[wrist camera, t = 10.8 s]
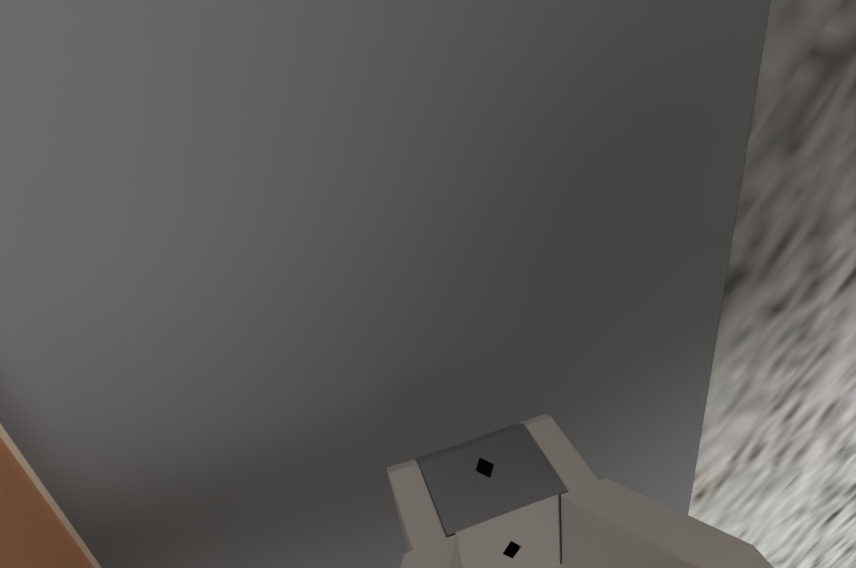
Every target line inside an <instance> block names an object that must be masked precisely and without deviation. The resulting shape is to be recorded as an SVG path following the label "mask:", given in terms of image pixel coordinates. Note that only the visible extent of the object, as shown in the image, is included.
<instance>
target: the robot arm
mask: <svg viewBox="0 0 856 568" xmlns="http://www.w3.org/2000/svg"><path fill="white" fill-rule="evenodd" d="M387 473H388V477H389V481H390V485H391V489H392V493H393V497H394V501H395V505H396V509H397V512H398V516H399V520H400V524H401V527H402V531H403V535H404V538H405V542H406V545H407V548H408V551H409V552H407V553H405V554H404V556H403V559H402V563H401V566H400V568H557V567H560V566H562V568H773V567H772V566H771V564H770V563H769V562H768V561H767V560H766V559H765V558H764V557H763V556H762V555H761V554H760V553H759V551H758V550H757V549H756V548H755V547H754V546H753V545H751V544H749V543H747V542H745V541H742V540H740V539H738V538H736V537H734V536H732V535H729V534H727V533H725V532H723V531H721V530H719V529H717V528H714V527H712V526H710V525H708V524H706V523H704V522H701V521H699V520H697V519H695V518H693V517H691V516H688V515H686V514H684V513H682V512H680V511H678V510H676V509H673V508H671V507H669V506H667V505H665V504H663V503H660V502H658V501H656V500H654V499H652V498H650V497H647V496H645V495H643V494H641V493H639V492H637V491H635V490H632V489H630V488H628V487H626V486H624V485H622V484H619V483H617V482H615V481H613V480H611V479H609V478H604V479H601V480H598V478H597V477H596V476H595V474H594V473H593V472H592V470H591V469H590V468H589V466H588V465H587V464H586V462H585V461H584V460H583V458H582V457H581V456H580V454H579V453H578V452H577V450H576V449H575V448H574V446H573V445H572V444H571V442H570V441H569V440H568V438H567V437H566V436H565V434H564V433H563V432H562V430H561V429H560V428H559V426H558V425H557V424H556V422H555V421H554V419H553V418H552V417H551V416H550V415H548V414H543V415H540V416H537V417H534V418H531V419H528V420H525V421H523V422H520V423H516V424H513V425H510V426H507V427H505V428H502V429H499V430H496V431H493V432H491V433H488V434H485V435H482V436H479V437H477V438H474V439H471V440H468V442H465V443H461V444H458V445H455V446H452V447H449V448H445V449H442V450H439V451H436V452H433V453H430V454H426V455H423V456H420V457H417V458H416V459H412V460H409V461H406V462H402V463H399V464H396V465H393V466H390V467H387Z"/></svg>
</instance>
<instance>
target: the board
mask: <svg viewBox="0 0 856 568" xmlns="http://www.w3.org/2000/svg"><path fill="white" fill-rule="evenodd" d="M769 7H770V0H0V437H1V438H2V440H3V441H4V443H5V444H6V445H7V447H8V448H9V450H10V451H11V452H12V454H13V455H14V456H15V458H16V459H17V461H18V462H19V463H20V465H21V466H22V468H23V469H24V470H25V472H26V473H27V475H28V476H29V477H30V479H31V480H32V481H33V483H34V484H35V486H36V487H37V488H38V490H39V491H40V493H41V494H42V495H43V497H44V498H45V500H46V501H47V502H48V504H49V505H50V506H51V508H52V509H53V511H54V512H55V513H56V515H57V516H58V518H59V519H60V520H61V522H62V523H63V525H64V526H65V527H66V529H67V530H68V531H69V533H70V534H71V536H72V537H73V538H74V540H75V541H76V543H77V544H78V545H79V547H80V548H81V550H82V551H83V552H84V554H85V555H86V557H87V558H88V559H89V561H90V562H91V563H92V565H93V566H94V568H400V566H401V563H402V559H403V556H404V554H405V553H407V552H409V551H408V548H407V545H406V542H405V538H404V535H403V531H402V527H401V524H400V520H399V516H398V512H397V509H396V505H395V501H394V497H393V493H392V489H391V485H390V481H389V477H388V473H387V467H390V466H393V465H396V464H399V463H402V462H406V461H409V460H412V459H416V458H417V457H420V456H423V455H426V454H430V453H433V452H436V451H439V450H442V449H445V448H449V447H452V446H455V445H458V444H461V443H465V442H468V440H471V439H474V438H477V437H479V436H482V435H485V434H488V433H491V432H493V431H496V430H499V429H502V428H505V427H507V426H510V425H513V424H516V423H520V422H523V421H525V420H528V419H531V418H534V417H537V416H540V415H543V414H548V415H550V416H551V417H552V418H553V419H554V421H555V422H556V424H557V425H558V426H559V428H560V429H561V430H562V432H563V433H564V434H565V436H566V437H567V438H568V440H569V441H570V442H571V444H572V445H573V446H574V448H575V449H576V450H577V452H578V453H579V454H580V456H581V457H582V458H583V460H584V461H585V462H586V464H587V465H588V466H589V468H590V469H591V470H592V472H593V473H594V474H595V476H596V477H597V478H598V480H601V479H604V478H609V479H611V480H613V481H615V482H617V483H619V484H622V485H624V486H626V487H628V488H630V489H632V490H635V491H637V492H639V493H641V494H643V495H645V496H647V497H650V498H652V499H654V500H656V501H658V502H660V503H663V504H665V505H667V506H669V507H671V508H673V509H676V510H678V511H680V512H682V513H684V514H686V515H688V512H689V505H690V499H691V493H692V487H693V480H694V474H695V468H696V462H697V456H698V449H699V443H700V437H701V431H702V424H703V418H704V412H705V406H706V399H707V393H708V387H709V381H710V374H711V368H712V362H713V356H714V350H715V343H716V337H717V331H718V325H719V318H720V312H721V306H722V300H723V293H724V287H725V281H726V275H727V268H728V262H729V256H730V250H731V244H732V237H733V231H734V225H735V219H736V212H737V206H738V200H739V194H740V187H741V181H742V175H743V169H744V162H745V156H746V150H747V144H748V138H749V131H750V125H751V119H752V113H753V106H754V100H755V94H756V88H757V81H758V75H759V69H760V63H761V57H762V50H763V44H764V38H765V32H766V25H767V19H768V13H769ZM557 568H562V566H560V567H557Z"/></svg>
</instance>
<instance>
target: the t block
mask: <svg viewBox="0 0 856 568" xmlns="http://www.w3.org/2000/svg"><path fill="white" fill-rule="evenodd" d="M0 568H94V566H93V565H92V563H91V562H90V561H89V559H88V558H87V557H86V555H85V554H84V552H83V551H82V550H81V548H80V547H79V545H78V544H77V543H76V541H75V540H74V538H73V537H72V536H71V534H70V533H69V531H68V530H67V529H66V527H65V526H64V525H63V523H62V522H61V520H60V519H59V518H58V516H57V515H56V513H55V512H54V511H53V509H52V508H51V506H50V505H49V504H48V502H47V501H46V500H45V498H44V497H43V495H42V494H41V493H40V491H39V490H38V488H37V487H36V486H35V484H34V483H33V481H32V480H31V479H30V477H29V476H28V475H27V473H26V472H25V470H24V469H23V468H22V466H21V465H20V463H19V462H18V461H17V459H16V458H15V456H14V455H13V454H12V452H11V451H10V450H9V448H8V447H7V445H6V444H5V443H4V441H3V440H2V438H1V437H0Z"/></svg>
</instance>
